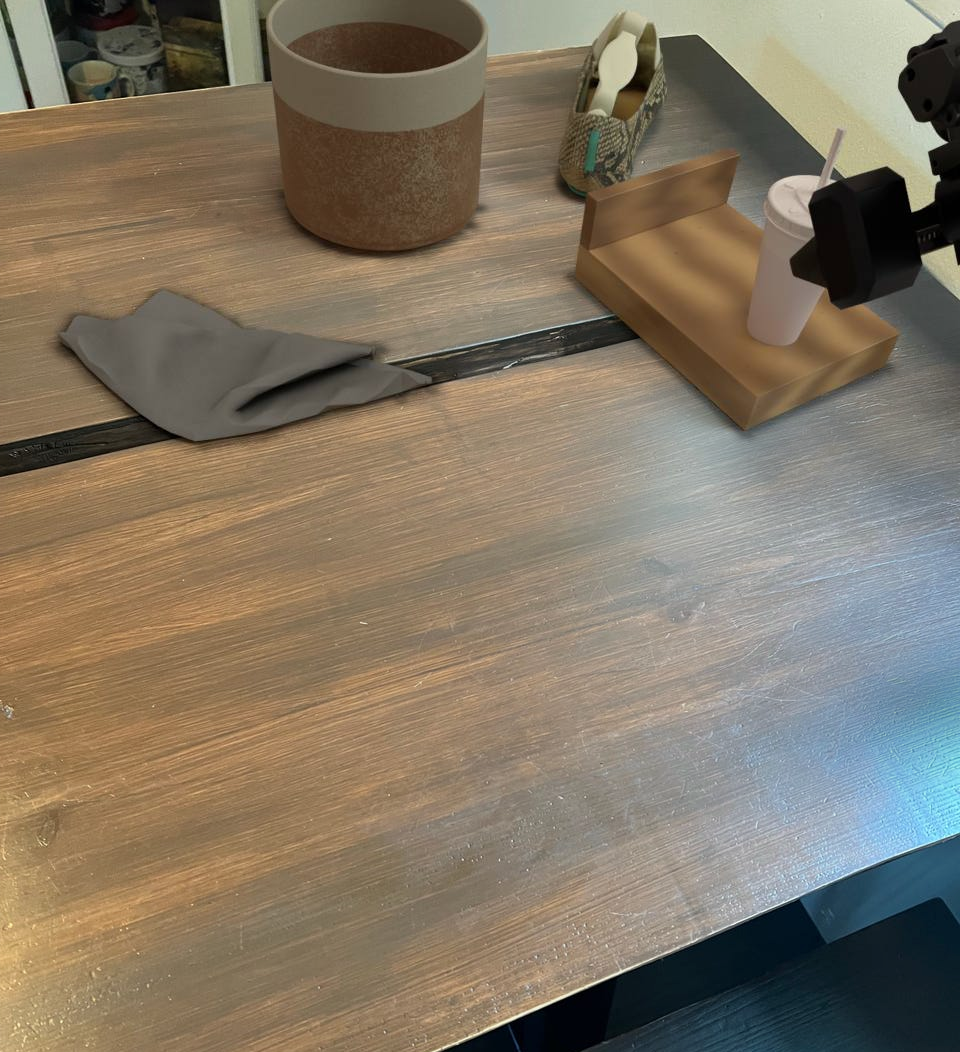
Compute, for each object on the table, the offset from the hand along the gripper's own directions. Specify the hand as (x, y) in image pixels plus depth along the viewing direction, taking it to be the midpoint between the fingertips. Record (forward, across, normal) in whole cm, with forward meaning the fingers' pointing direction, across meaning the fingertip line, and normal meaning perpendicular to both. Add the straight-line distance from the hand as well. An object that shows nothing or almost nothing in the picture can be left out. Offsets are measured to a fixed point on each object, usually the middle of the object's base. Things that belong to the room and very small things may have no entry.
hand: (848, 248), depth 62 cm
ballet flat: (+33, -8, -17) cm, 38 cm away
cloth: (+21, +35, -5) cm, 41 cm away
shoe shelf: (+14, -1, +2) cm, 14 cm away
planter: (+32, +16, -16) cm, 39 cm away
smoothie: (+8, 0, +4) cm, 9 cm away
